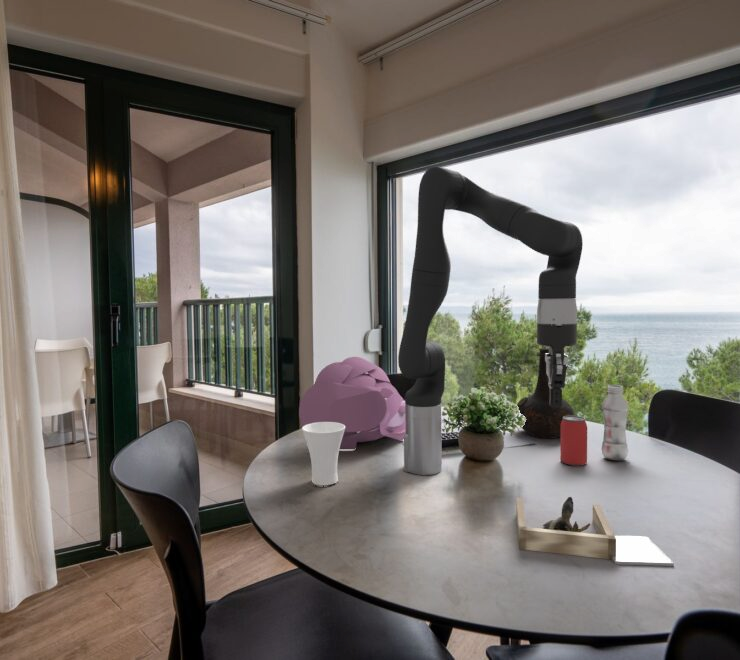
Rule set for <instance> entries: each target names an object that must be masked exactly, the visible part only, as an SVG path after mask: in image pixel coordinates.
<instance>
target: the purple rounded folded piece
mask: <svg viewBox="0 0 740 660" xmlns="http://www.w3.org/2000/svg"><path fill="white" fill-rule="evenodd" d="M298 417H299V421H300V424H301V426H302V427H303V426H305V425H307V424H311V423H317V422H336V423H341V424H343V425H345V430H344V434H343V437H342V441H341V445H340V448H339V449H355V448H356V449H357V443H364V442H365V443H366V442H373V441H376V440H378V439H381V438H383V437H388V438H392V439H394V440H397V441H401V440H403V439H404V434H405V433H406V426H405V399H404V398H403V397H402V396H401V395H400V393H399V392H398V390H397V389H396V387H395V386H394V385H392V383H391V381H390V379H389V377H388V375H387V373H386V372H385V371H384V370H383V369H382V368H381V367H379V366H378V365H377V364H374V363H372V362H371V361H368V360H366V359H364V358H363V357H361V356H350V357H347V358H345V359H344V360H342V361H335V362H332V363H330V364H328V365H326V366H325V367H323V368H322V369H321V370H320V372H319V373H318V374H317V376H316V379H315V380H314V384H313V385H312V386H310V387H309V388H308V389H307V390H306V391H305V393H303V396H302V398H301V399H300V403H299V408H298ZM401 442H402V441H401Z"/></svg>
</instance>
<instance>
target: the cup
mask: <svg viewBox="0 0 740 660" xmlns="http://www.w3.org/2000/svg"><path fill="white" fill-rule="evenodd" d="M344 430H345V425H343V424H341V423H336V422H317V423H311V424H307V425H305V426H302V427H301V431H302V433H303V436H304V439H305V443H306V446H307V448H308V451H309V456H310V462H311V480H312V482H313V483H315V484H319V485H328V484H333V483H336V482H337V481H338V482H339V477H338V476H339V475H338V462H339V461H338V458H339V453H340V451H339V448H340V445H341V441H342V437H343V434H344ZM336 484H337V483H336Z"/></svg>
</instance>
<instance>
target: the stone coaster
mask: <svg viewBox="0 0 740 660" xmlns="http://www.w3.org/2000/svg"><path fill="white" fill-rule="evenodd" d="M614 536H615V538H616V557H612V559H611V560H612V562H614V564H615V565H620V566H621V565H624V566H626V565H628V566H629V565H630V566H656V567H657V566H659V567H665V566H666V567H674V564H675V563H674V562H673V560H671V559H670V558H669V556H668V555H666V554H665V553H664V552H663V551H662V550H661V549H660V548H659V547H658V545H656V544H655V543H654V542H653V541H652V540H651V539H650V538H649V537H648V536H643V535H642V536H641V535H614Z"/></svg>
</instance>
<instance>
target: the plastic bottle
mask: <svg viewBox="0 0 740 660" xmlns="http://www.w3.org/2000/svg"><path fill="white" fill-rule="evenodd" d="M607 393H608V395H606V397H605V398H604V400H602V403H601V406H602V407H601V408H602V415H603V424H604V425H603V429H604V430H603V439H602V443H601V453H602V456H603V457H604V458H605V459H607V460H610V461H617V462H618V461H625V460H626V459H627V457H628V453H629V449H628V443H627V432H626V431H627V430H626V429H627V418H628V413H629V404H628V401H627V400H626V398H625V397H624V396H623V394H624V387H623V385H619V384H608V385H607Z"/></svg>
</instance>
